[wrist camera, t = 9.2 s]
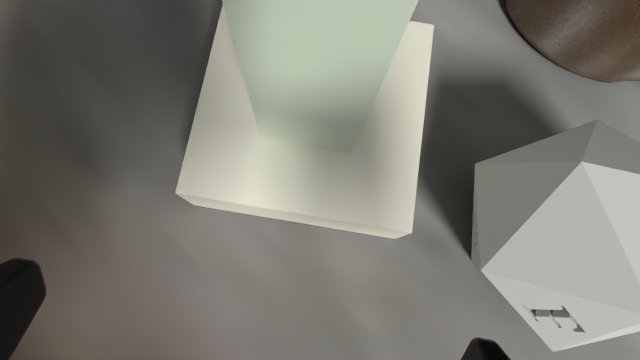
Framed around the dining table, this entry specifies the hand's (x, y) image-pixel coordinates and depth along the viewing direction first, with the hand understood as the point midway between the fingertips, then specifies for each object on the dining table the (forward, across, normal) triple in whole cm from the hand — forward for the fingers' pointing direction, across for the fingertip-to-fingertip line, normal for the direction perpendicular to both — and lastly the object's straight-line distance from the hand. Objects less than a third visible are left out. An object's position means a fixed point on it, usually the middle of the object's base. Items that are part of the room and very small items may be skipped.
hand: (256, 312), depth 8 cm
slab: (+14, 0, +2) cm, 14 cm away
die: (+11, -12, +5) cm, 17 cm away
